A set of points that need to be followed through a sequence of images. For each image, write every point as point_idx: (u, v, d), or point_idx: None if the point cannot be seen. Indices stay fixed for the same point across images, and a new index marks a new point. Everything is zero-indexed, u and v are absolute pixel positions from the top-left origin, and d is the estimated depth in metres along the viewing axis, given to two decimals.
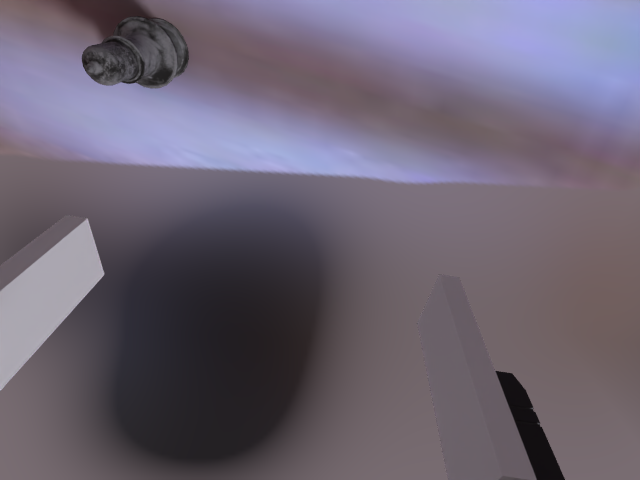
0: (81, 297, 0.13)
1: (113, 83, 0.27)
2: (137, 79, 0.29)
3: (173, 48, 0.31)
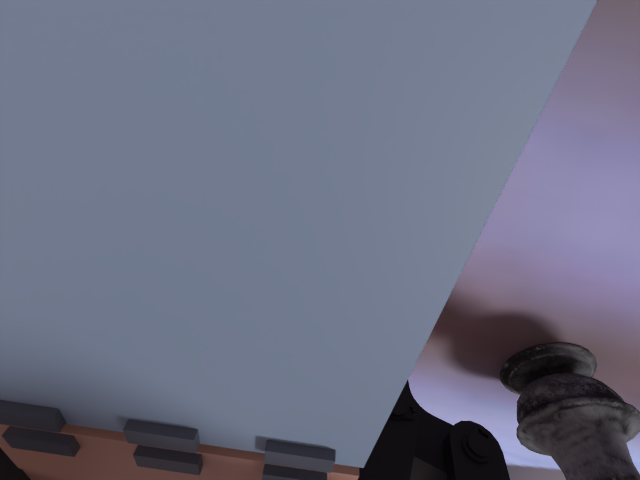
0: None
1: None
2: None
3: (639, 430, 0.18)
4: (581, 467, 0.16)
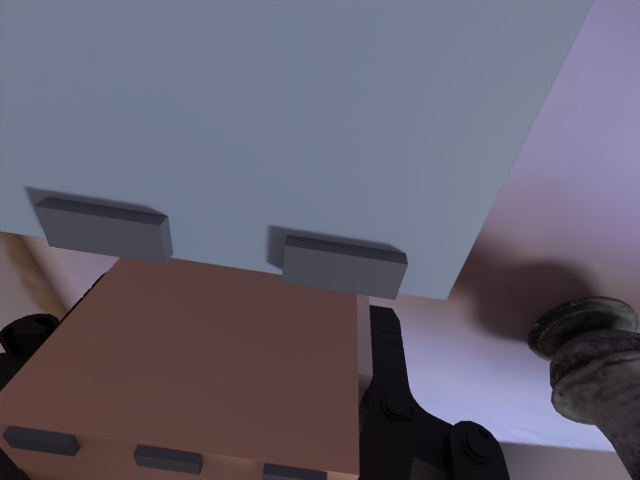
0: None
1: None
2: None
3: None
4: (633, 429, 0.14)
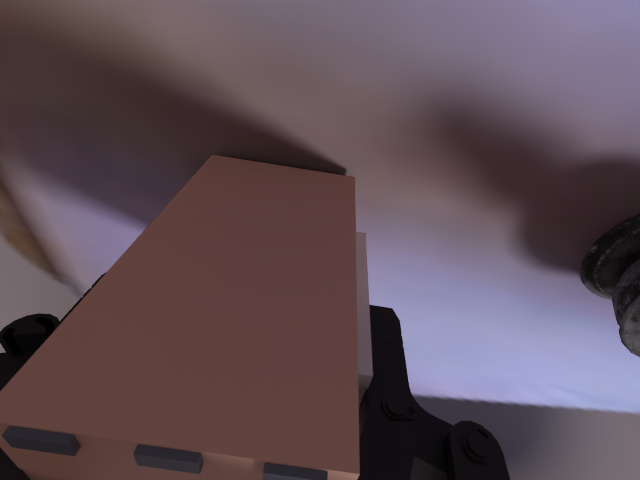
0: None
1: None
2: None
3: None
4: None
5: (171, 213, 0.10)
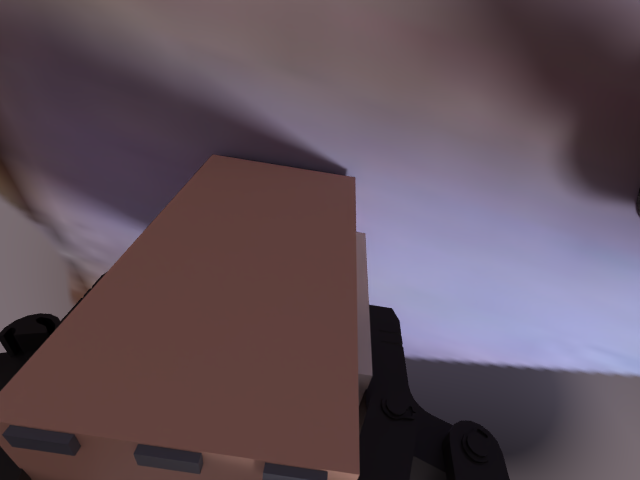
0: None
1: None
2: None
3: None
4: None
5: (171, 213, 0.10)
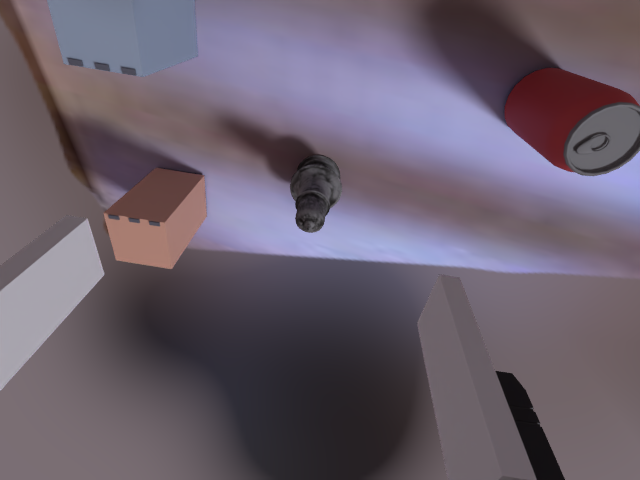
0: (81, 297, 0.13)
1: (315, 231, 0.34)
2: None
3: (340, 186, 0.39)
4: (302, 191, 0.37)
5: (139, 184, 0.39)
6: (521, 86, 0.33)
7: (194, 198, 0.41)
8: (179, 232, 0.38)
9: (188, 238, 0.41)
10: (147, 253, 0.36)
